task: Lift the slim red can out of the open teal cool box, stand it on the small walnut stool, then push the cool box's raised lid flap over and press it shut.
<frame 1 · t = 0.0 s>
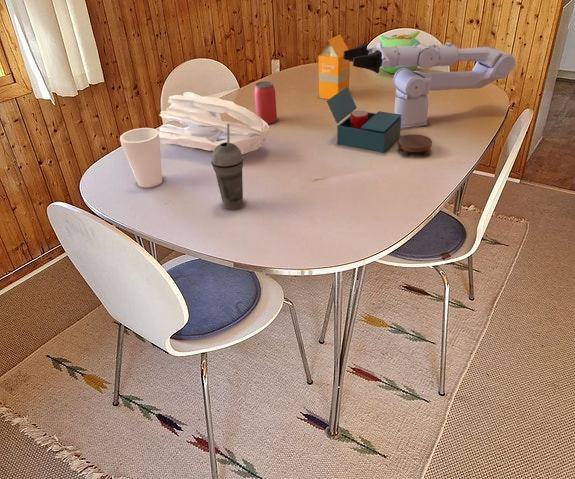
hand: (348, 58, 137), 22 cm above the table, tool horizontal, fingers open, 7 cm apart
green round bowl: (397, 72, 196), on the table
foam cup: (150, 182, 130), on the table
beverage cup: (233, 205, 118), on the table
beer can: (267, 121, 160), on the table
white plastic bag: (211, 150, 144), on the table
cool box flap: (342, 104, 142), point 10 cm above the table, hinge at 118.0°
can: (358, 137, 144), resting on cool box
stool: (413, 152, 136), on the table
orange juice: (334, 95, 177), on the table
cool box: (368, 141, 143), on the table
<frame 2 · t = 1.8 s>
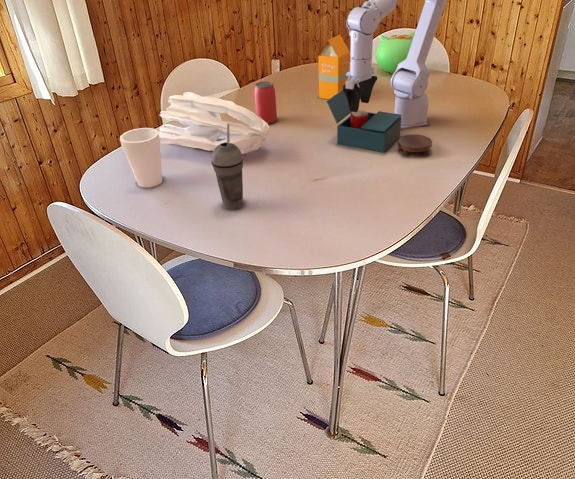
hand: (359, 106, 139), 10 cm above the table, tool pointing down, fingers open, 7 cm apart
nothing on the table moved.
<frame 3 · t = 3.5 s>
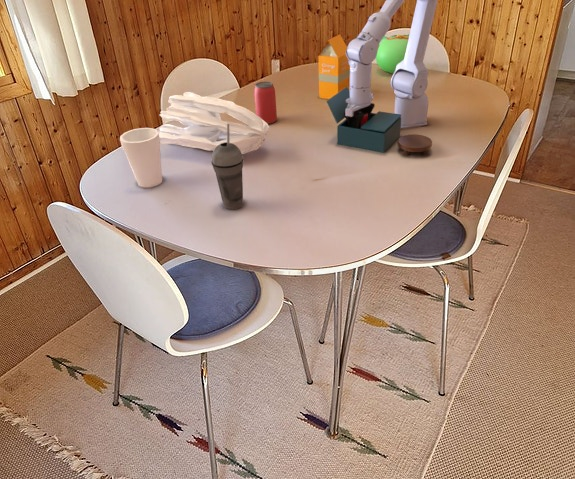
hand: (358, 132, 143), 2 cm above the table, tool pointing down, fingers closed on can, 5 cm apart
can: (358, 137, 144), point 1 cm above the table, touching cool box, gripper
everything else where it was.
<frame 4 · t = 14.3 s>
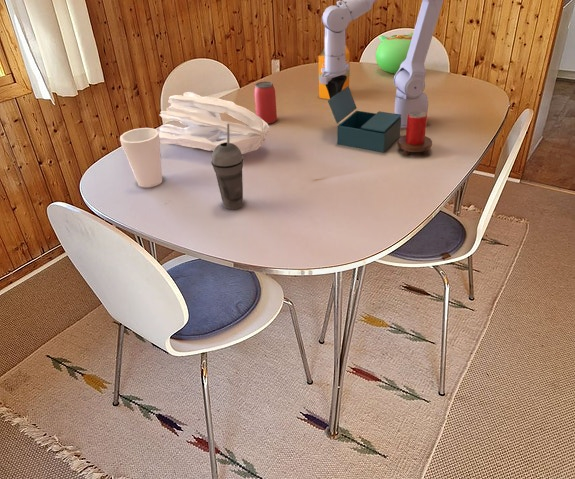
hand: (334, 101, 145), 9 cm above the table, tool pointing down, fingers closed, pressing on cool box flap
cool box flap: (342, 104, 141), point 10 cm above the table, hinge at 114.4°, touching gripper
can: (414, 141, 134), point 3 cm above the table, touching stool
everything else where it was.
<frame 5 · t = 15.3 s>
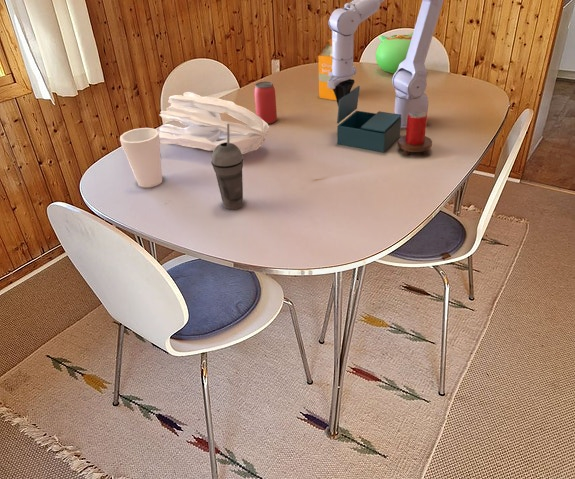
hand: (342, 106, 142), 9 cm above the table, tool pointing down, fingers closed, pressing on cool box flap
cool box flap: (348, 104, 141), point 10 cm above the table, hinge at 84.3°, touching gripper
everything else where it was.
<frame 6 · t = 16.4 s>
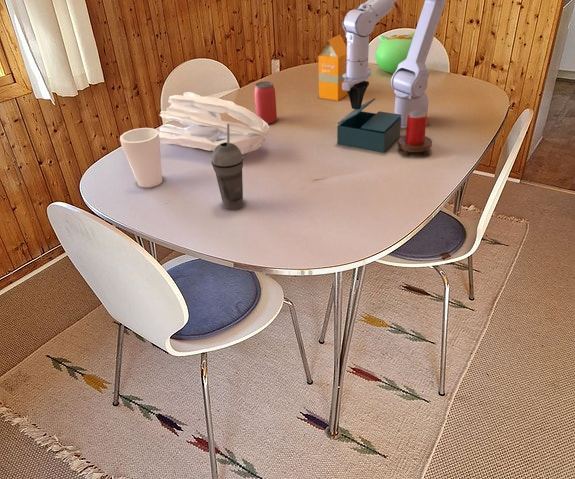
hand: (356, 108, 140), 9 cm above the table, tool pointing down, fingers closed, pressing on cool box flap
cool box flap: (356, 110, 140), point 9 cm above the table, hinge at 33.0°, touching gripper
everything else where it was.
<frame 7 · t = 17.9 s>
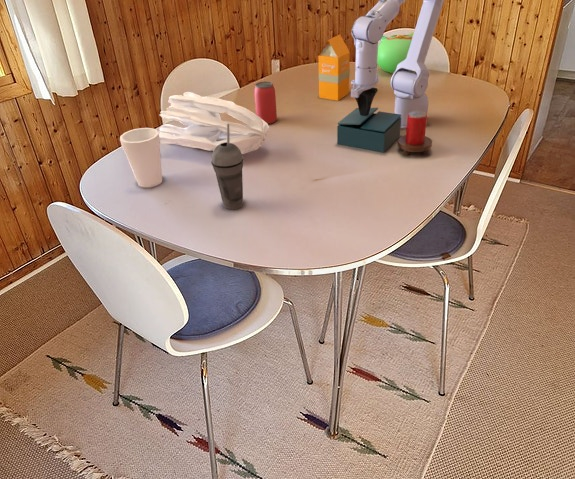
hand: (364, 114, 140), 8 cm above the table, tool pointing down, fingers closed, pressing on cool box flap
cool box flap: (358, 115, 141), point 7 cm above the table, hinge at 8.5°, touching gripper
everything else where it was.
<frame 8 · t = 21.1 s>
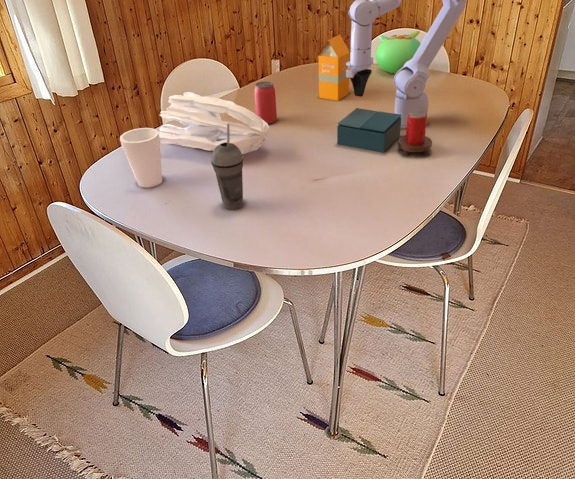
hand: (359, 95, 145), 10 cm above the table, tool pointing down, fingers closed
cool box flap: (358, 117, 141), point 7 cm above the table, hinge at -0.5°
everything else where it was.
at the end: can 0.0 cm off-centre on the stool, point 3.5 cm above the stool's base; can tilted 0°; cool box flap at +0° (first picture: +118°) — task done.
